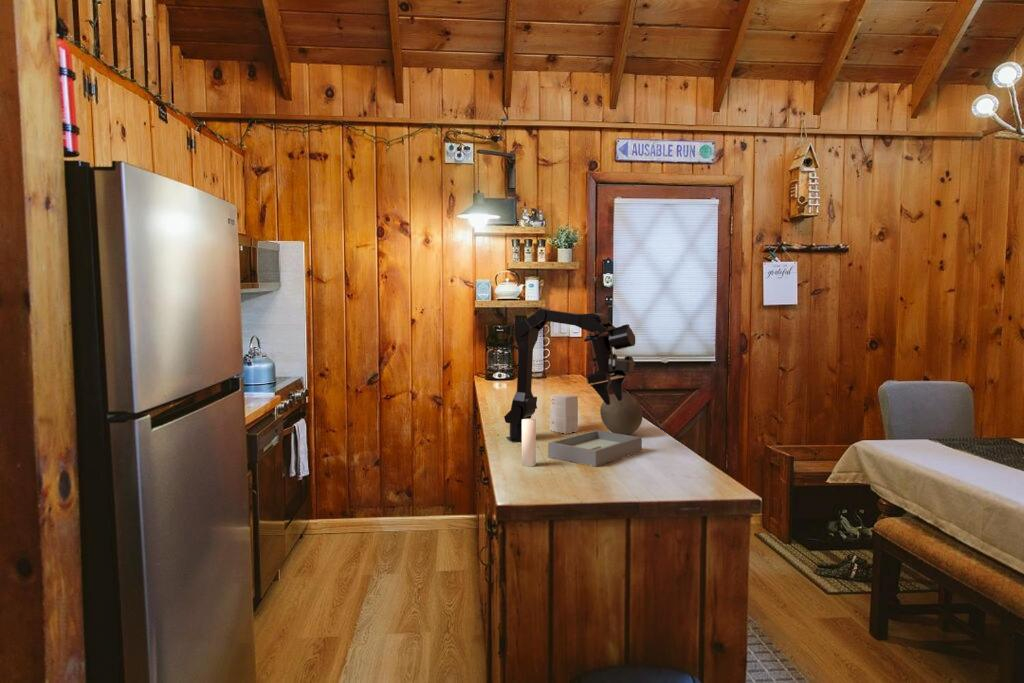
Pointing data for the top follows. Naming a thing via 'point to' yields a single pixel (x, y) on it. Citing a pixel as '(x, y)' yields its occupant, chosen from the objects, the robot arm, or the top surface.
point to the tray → (594, 447)
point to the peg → (528, 442)
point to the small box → (564, 413)
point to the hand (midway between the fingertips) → (614, 402)
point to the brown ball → (622, 414)
